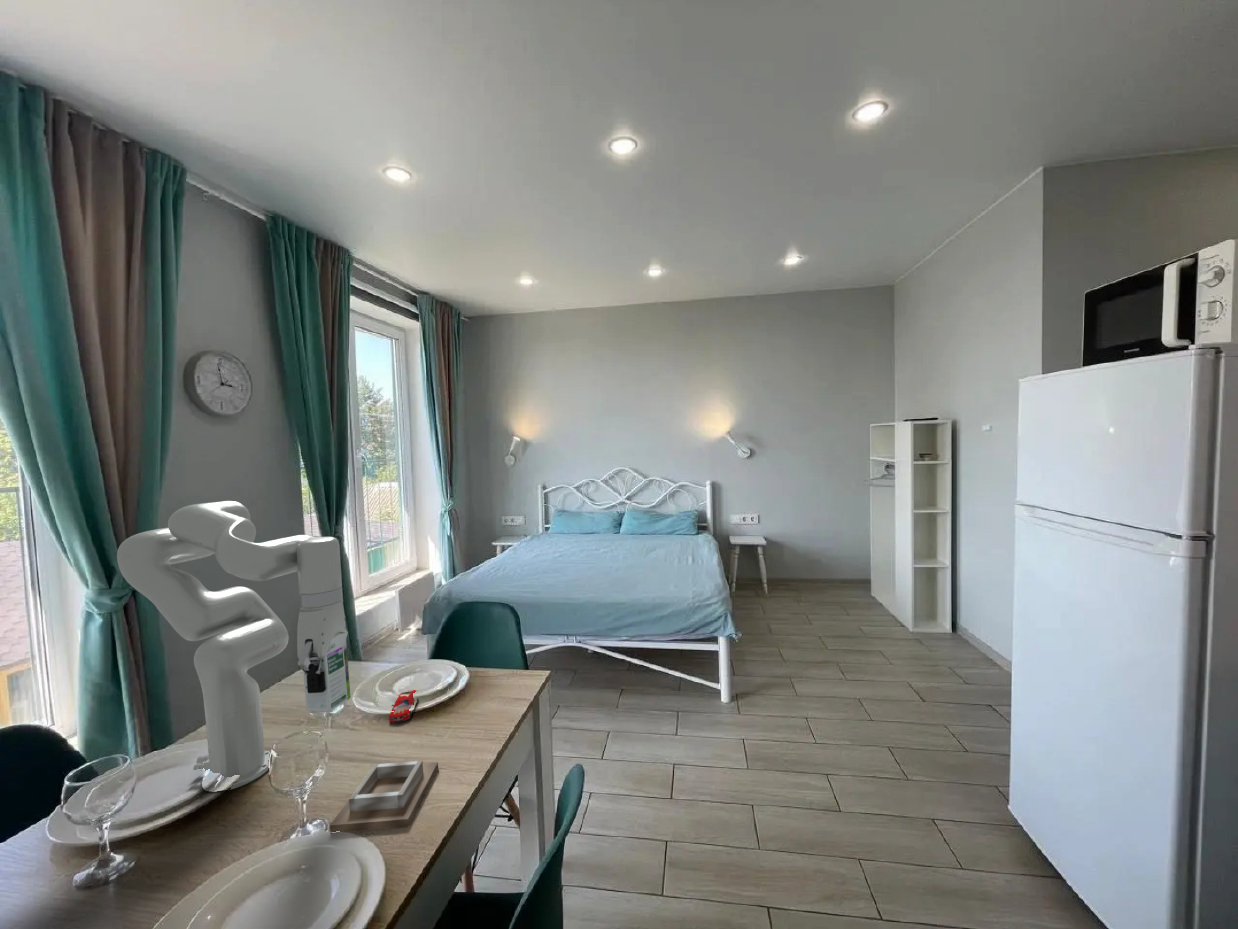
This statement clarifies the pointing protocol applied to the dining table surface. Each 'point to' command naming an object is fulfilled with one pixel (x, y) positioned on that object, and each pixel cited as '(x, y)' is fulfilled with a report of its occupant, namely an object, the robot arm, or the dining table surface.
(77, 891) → the dining table surface
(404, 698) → the race car
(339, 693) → the syrup box
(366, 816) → the socket board
